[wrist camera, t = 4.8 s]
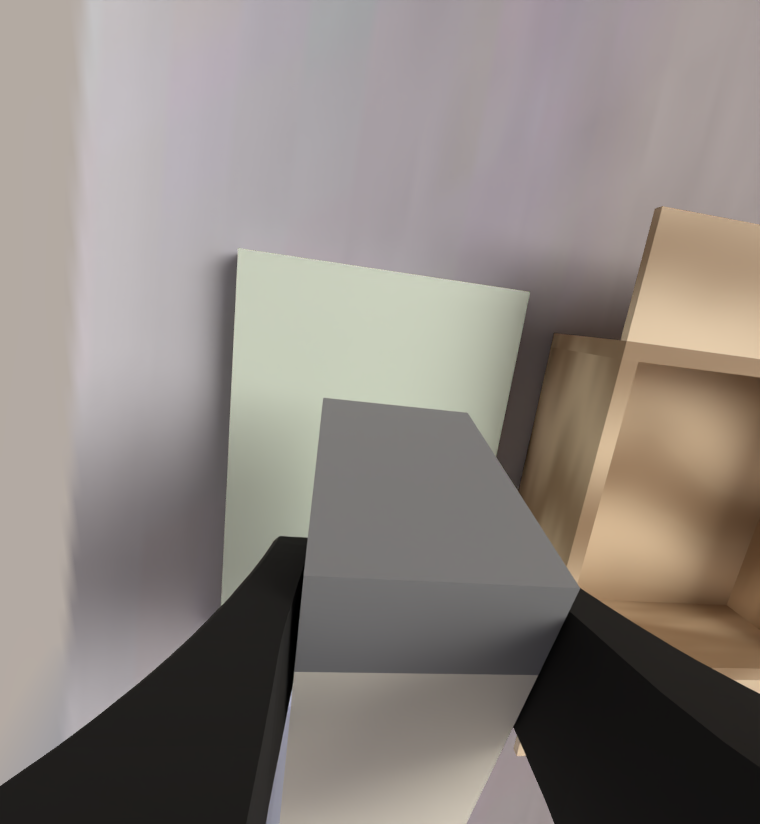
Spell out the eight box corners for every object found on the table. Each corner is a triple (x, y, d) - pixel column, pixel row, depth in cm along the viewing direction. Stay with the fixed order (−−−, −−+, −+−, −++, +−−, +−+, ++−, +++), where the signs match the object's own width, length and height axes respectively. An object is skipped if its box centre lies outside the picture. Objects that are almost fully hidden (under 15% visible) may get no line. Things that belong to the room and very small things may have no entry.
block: (414, 613, 15) (456, 843, 9) (302, 609, 14) (276, 851, 9) (467, 412, 11) (579, 588, 6) (322, 397, 11) (303, 575, 5)
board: (453, 622, 21) (458, 637, 20) (225, 614, 19) (219, 631, 18) (518, 292, 17) (530, 292, 16) (244, 252, 15) (237, 248, 14)
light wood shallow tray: (701, 668, 23) (786, 752, 19) (479, 665, 21) (516, 756, 17) (847, 280, 18) (1005, 271, 14) (576, 233, 17) (662, 206, 12)
